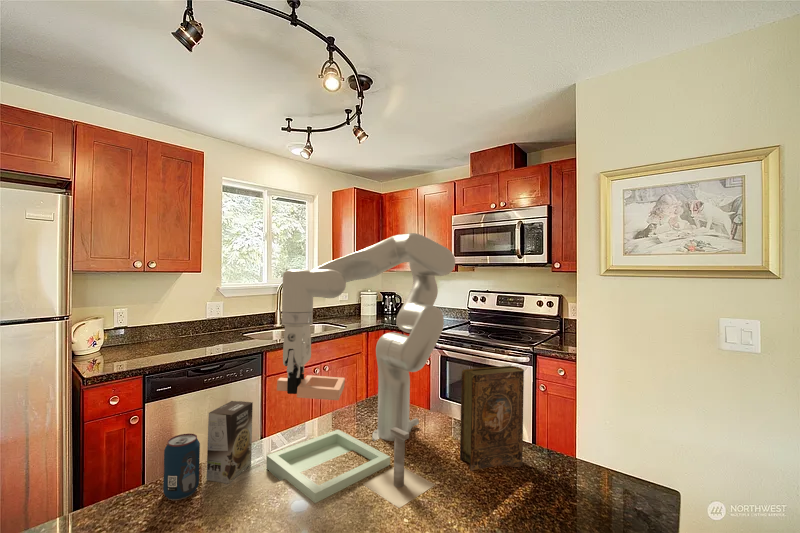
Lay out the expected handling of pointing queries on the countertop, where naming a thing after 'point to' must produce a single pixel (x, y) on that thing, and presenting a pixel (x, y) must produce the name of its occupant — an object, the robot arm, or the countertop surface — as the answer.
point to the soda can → (181, 466)
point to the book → (492, 416)
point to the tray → (320, 451)
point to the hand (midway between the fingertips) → (295, 390)
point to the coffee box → (229, 441)
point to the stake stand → (398, 477)
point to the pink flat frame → (316, 387)
